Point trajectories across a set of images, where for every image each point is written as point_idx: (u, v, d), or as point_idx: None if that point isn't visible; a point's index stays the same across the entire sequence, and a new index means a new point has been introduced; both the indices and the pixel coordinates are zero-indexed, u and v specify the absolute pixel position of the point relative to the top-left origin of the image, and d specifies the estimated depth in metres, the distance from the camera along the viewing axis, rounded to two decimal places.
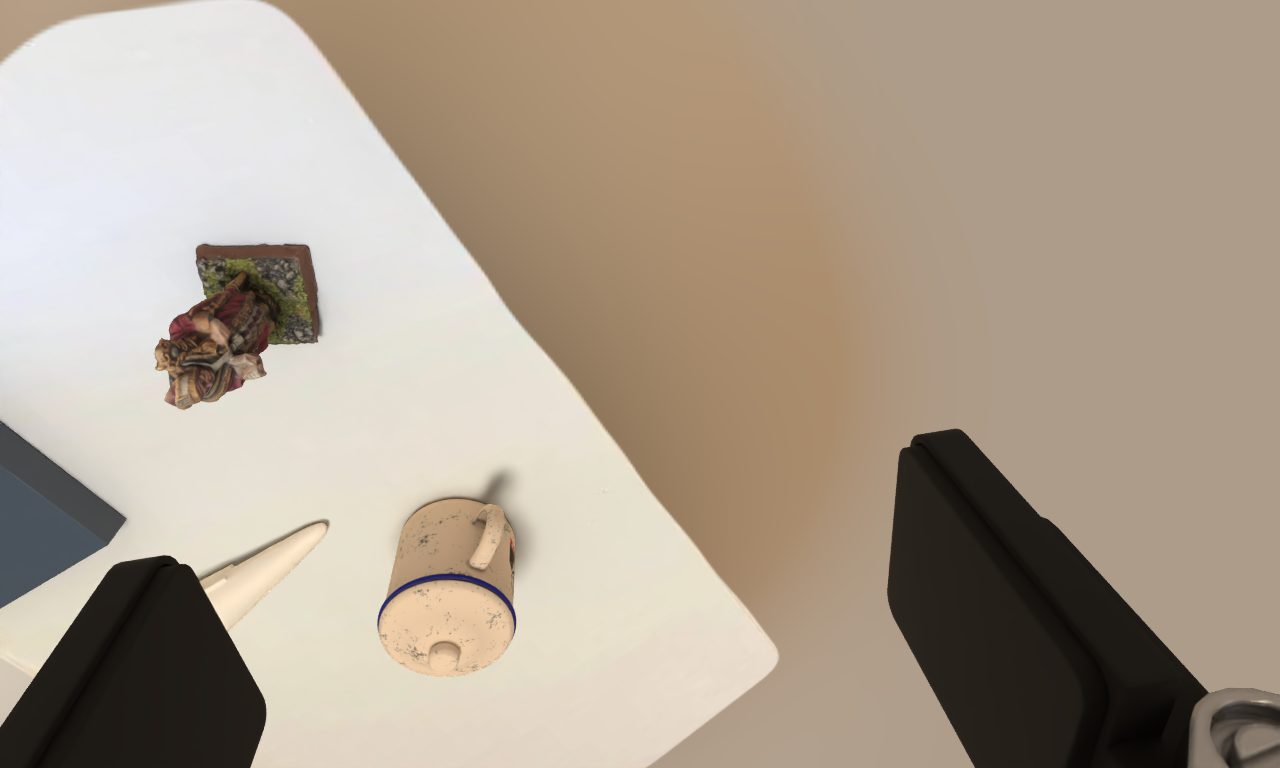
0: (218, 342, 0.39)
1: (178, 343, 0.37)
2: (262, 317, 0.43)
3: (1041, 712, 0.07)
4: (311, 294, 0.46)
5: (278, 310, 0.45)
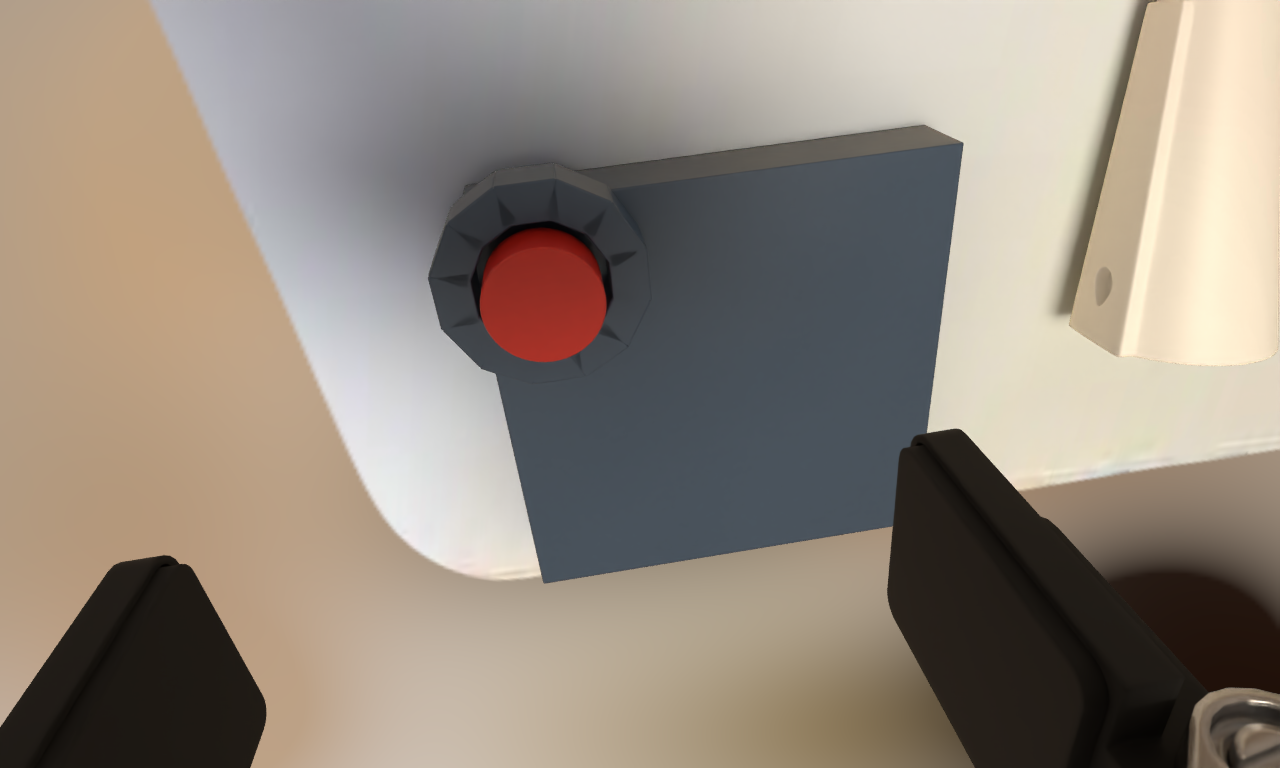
0: None
1: None
2: None
3: (1041, 712, 0.07)
4: None
5: None
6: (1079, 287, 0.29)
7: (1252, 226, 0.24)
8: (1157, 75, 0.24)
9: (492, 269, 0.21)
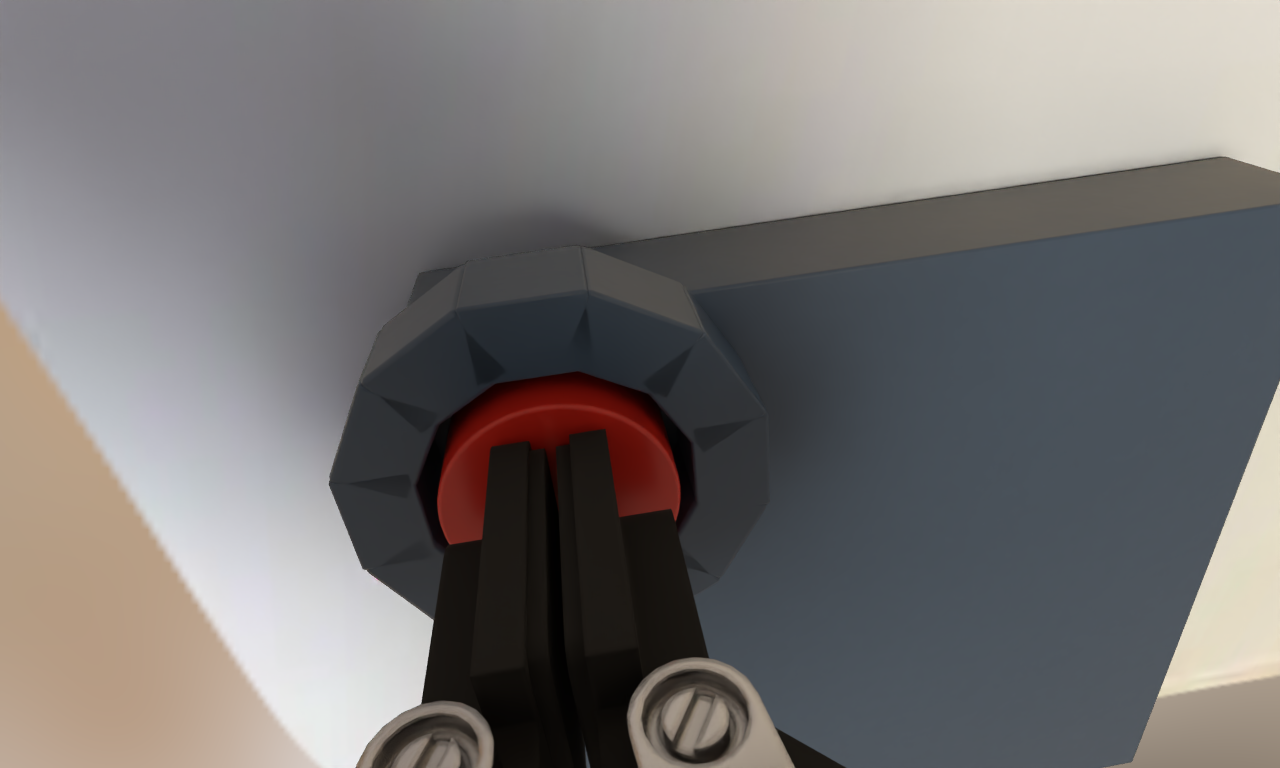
0: None
1: None
2: None
3: None
4: None
5: None
6: None
7: None
8: None
9: (460, 444, 0.10)
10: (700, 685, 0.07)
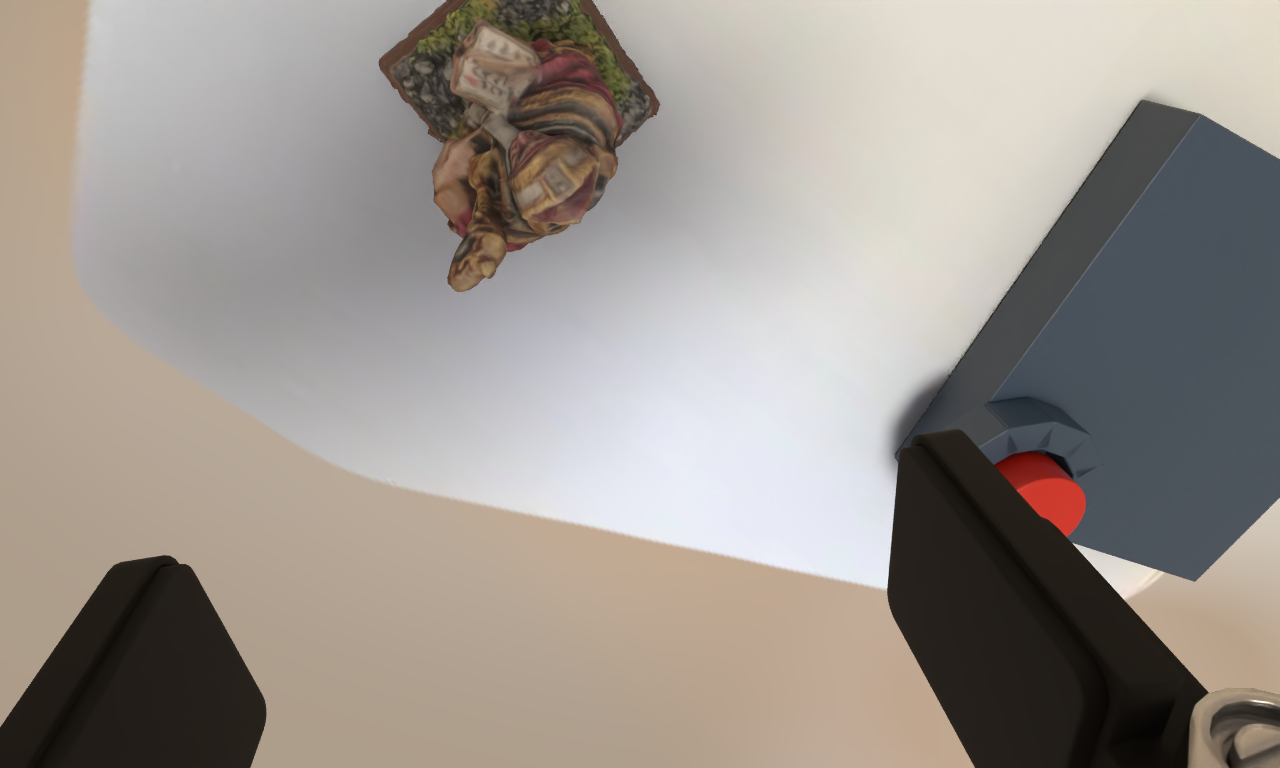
0: (471, 155, 0.16)
1: None
2: None
3: (1041, 712, 0.07)
4: (449, 7, 0.22)
5: None
6: None
7: None
8: None
9: None
10: None
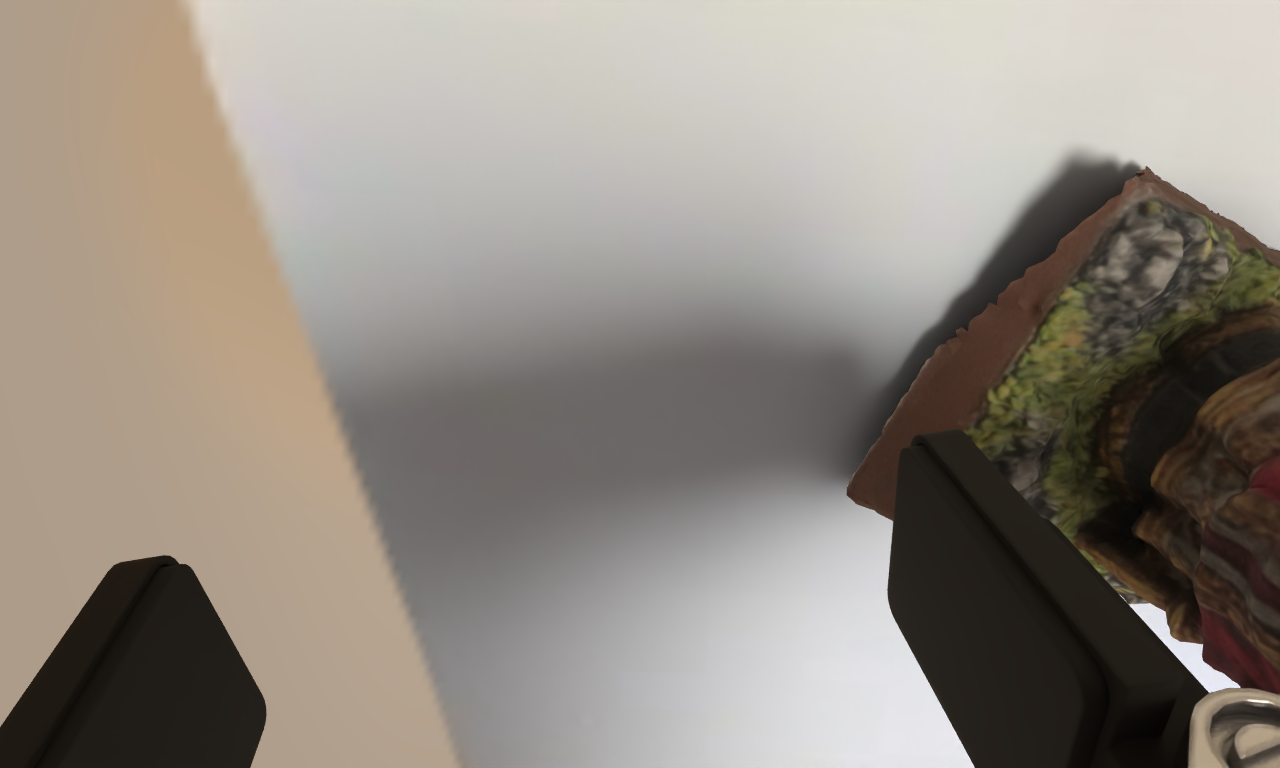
0: None
1: None
2: (1241, 531, 0.09)
3: (1041, 712, 0.07)
4: (970, 370, 0.11)
5: (1124, 386, 0.11)
6: None
7: None
8: None
9: None
10: None
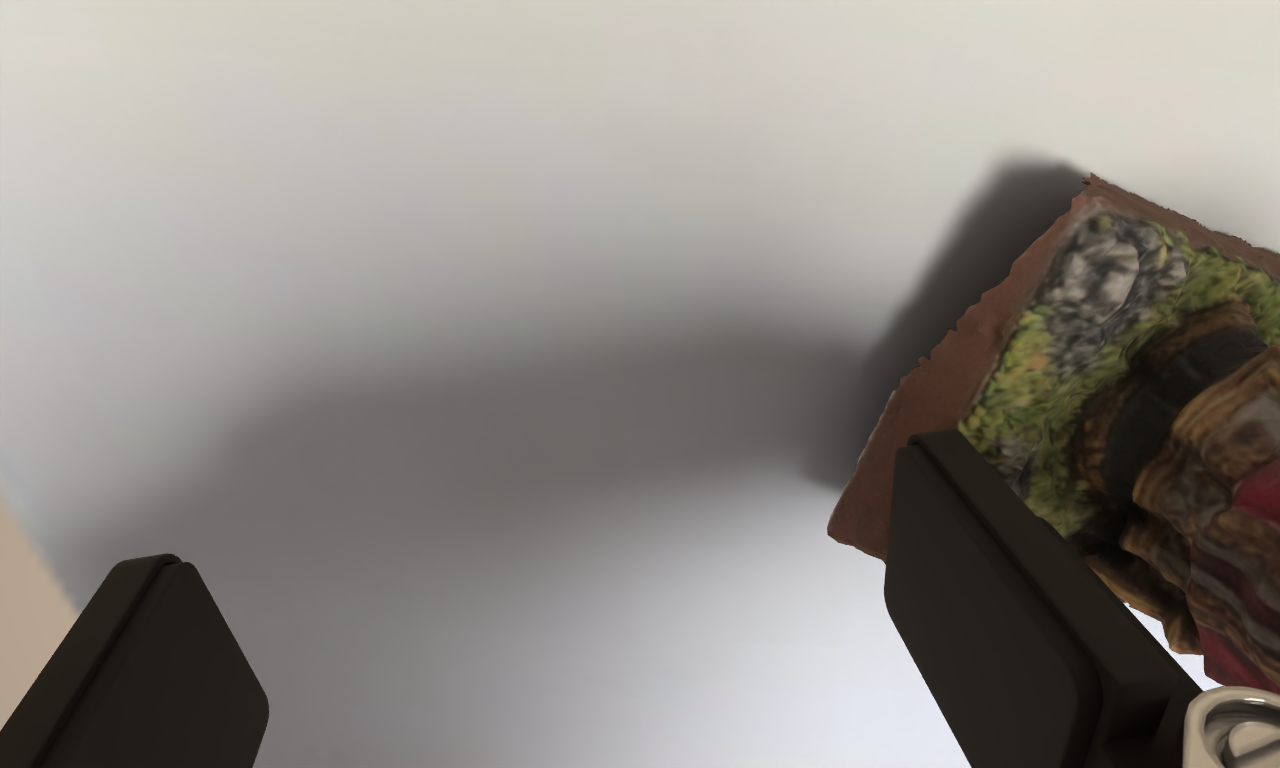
0: None
1: None
2: (1230, 550, 0.09)
3: (1036, 711, 0.07)
4: (938, 400, 0.11)
5: (1095, 400, 0.10)
6: None
7: None
8: None
9: None
10: None
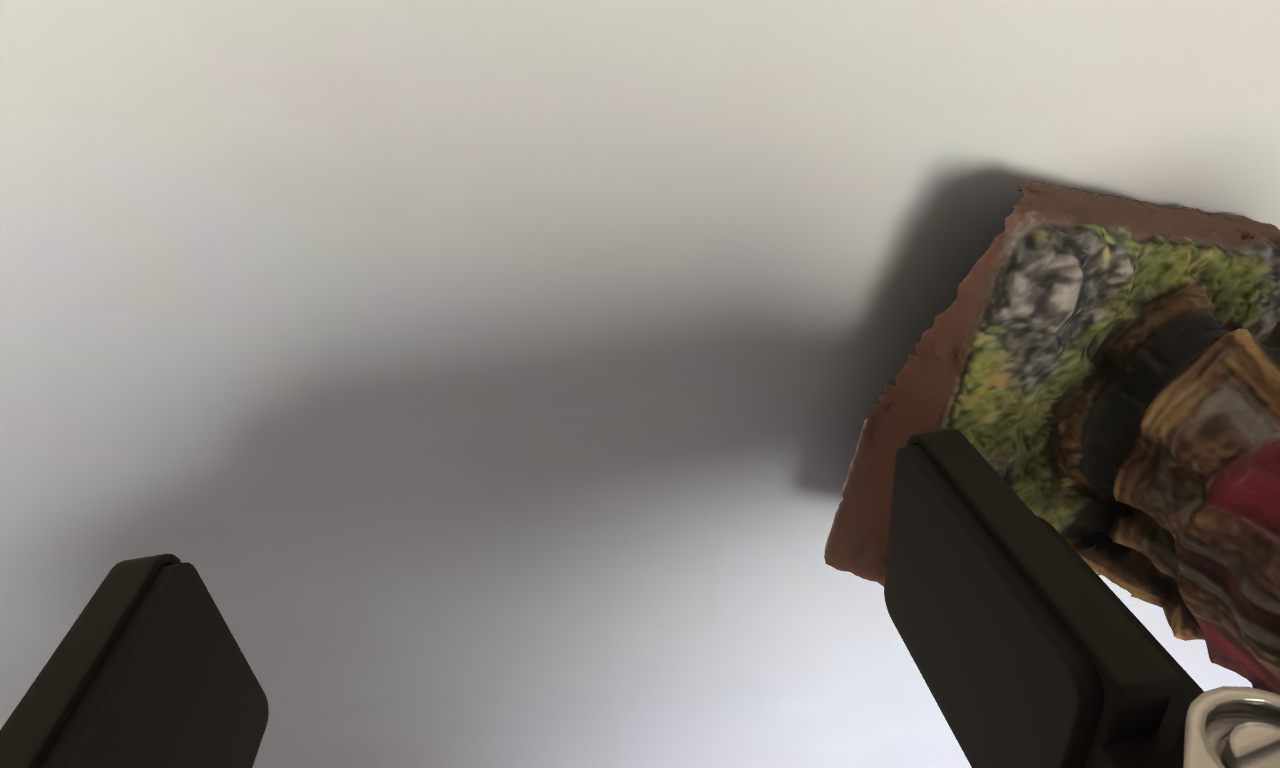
0: None
1: None
2: (1211, 548, 0.09)
3: (1036, 711, 0.07)
4: (907, 427, 0.11)
5: (1064, 402, 0.10)
6: None
7: None
8: None
9: None
10: None
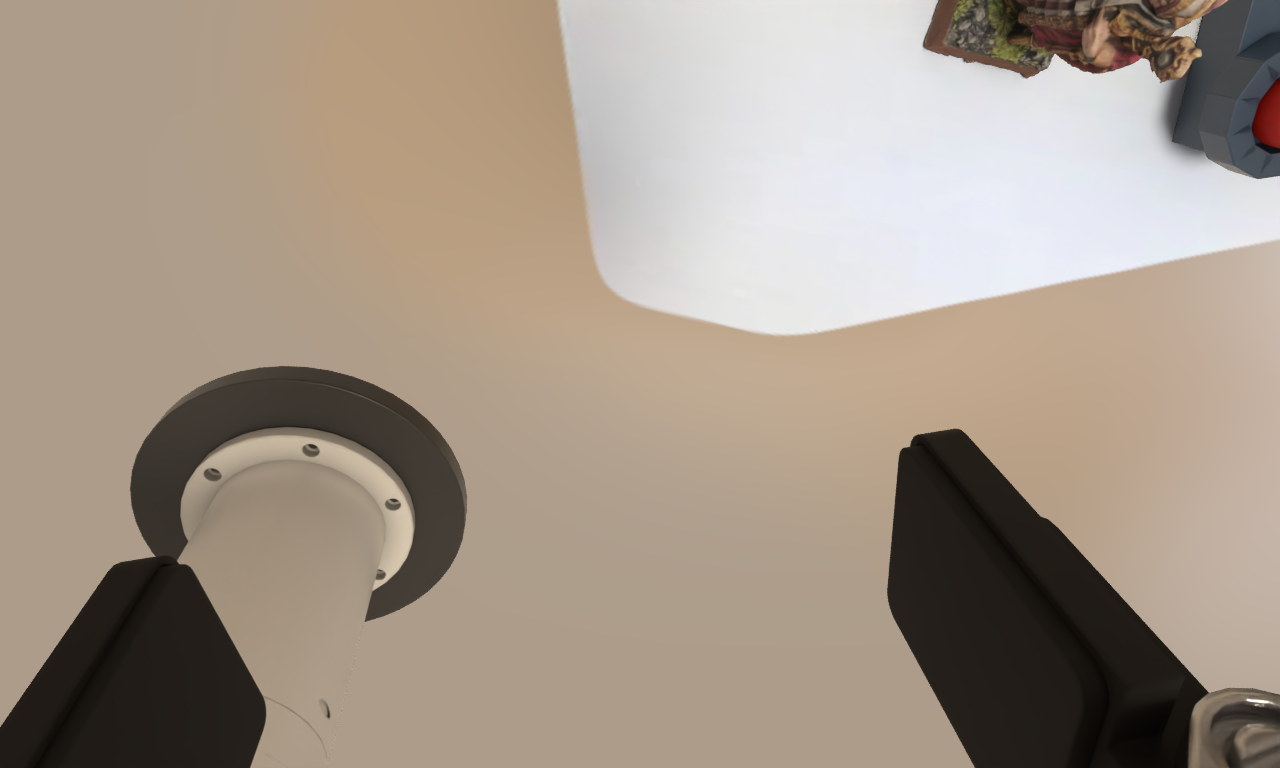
0: (1107, 24, 0.29)
1: (1149, 60, 0.28)
2: None
3: (1041, 712, 0.07)
4: None
5: None
6: None
7: None
8: None
9: None
10: None
